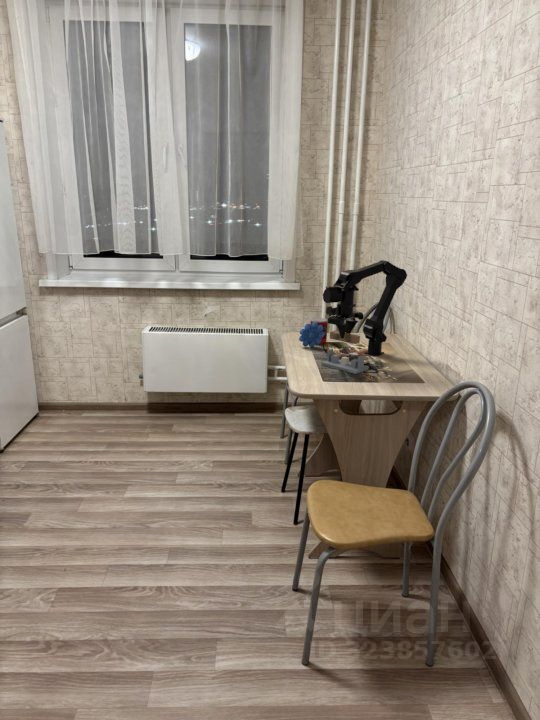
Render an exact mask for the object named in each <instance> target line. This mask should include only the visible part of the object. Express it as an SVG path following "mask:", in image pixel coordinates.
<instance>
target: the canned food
mask: <svg viewBox="0 0 540 720" xmlns="http://www.w3.org/2000/svg"><path fill="white" fill-rule="evenodd" d="M327 321H328V318H321V317H315V318H313V317H312V318H311V319H310V322H309V324H310V325H311V324H312V323H313V322H317V324H318V326H319V325H322V326H323V330H322V331H323V332H324V333H325V335H324V337H322V338H321V343H319V344H318V345H324V344H326V343H327V338H328V335H327V334H328V323H327ZM315 345H317V344H316V343H315Z"/></svg>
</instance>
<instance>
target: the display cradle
mask: <svg viewBox="0 0 540 720" xmlns="http://www.w3.org/2000/svg"><path fill="white" fill-rule="evenodd" d="M326 355H327V356H326V360H324V361H321V366H323V367H328V368H332V369H336V370H340V371H342V370H343V372H346V371H347V373H351V374H355V375H358V374H360V373H362V372H365V371H367V370H369V368H370V367H369V365H365V364H364V363H365V355H360V356H358V357H357V358H354V359H351V361H350V357H349V356H348V357H347V356H343V357H341V359H340V354H336V353H334V348H329V349H327V354H326ZM357 373H358V374H357Z"/></svg>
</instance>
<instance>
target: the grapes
mask: <svg viewBox="0 0 540 720" xmlns="http://www.w3.org/2000/svg"><path fill="white" fill-rule="evenodd" d="M322 330H323V326H322V325H319V326H318V324H317V322H313V323H312V324H311V325H310V323H306V324H305V325H304V328H302V329H300V331H299V335H300V336H299V337H298V340H299V342H302V346H303V347H310V348H313V347H315V346H316V345H320V344H319V343H321V338H322V337H324V335H325V333H324V332H323V331H322ZM315 343H316V344H315Z"/></svg>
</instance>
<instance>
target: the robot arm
mask: <svg viewBox="0 0 540 720" xmlns="http://www.w3.org/2000/svg"><path fill="white" fill-rule="evenodd" d="M379 273H383V274H384V275H385V287H384V289H383V292H382V294H381V296H380V299H379V301H378V303H377V305H376V308H375V311H374V312H373V315H372V316H371V317H370V318H368V317H367V318H365V320H364V321H365V322H364V324H363V325H362V332H363V334H364V336H365V339H367V340H368V343H367V351H364V354H365V355H371V356H374V357H376V356H377V357H378V356H380V355H384V354H385V351H383V350H382V348H383V343H386V341H387V338H388V337H387V335H386V334H385V333H384V332H383V331H384V329H385V327H384V319H385V317H386V315H387V313H388V311H389V308H390V306H391V303H392V301H393V299H394V296H395V295H396V292H397V290H398V289H399V288H400V287H402V286H403V285H404V283H405V282H406V280H407V277H408V273H407V271H406V270H405V268H400V267H398V266H396V265H394V264H393V263H391V262H389V260H384V259H383V260H382V259H381V260H379V261H378V262H374V263H372V264H369V265H365V266H364V267H360V268H358V269H347V270H346V269H345V270H343V271H341V272H340V273H339V276H338V277H337V280H336V281H335V282H334V284H333V285H332V286H330V285H327V286H325V289H324V291H323V293H322V299H323V302H324V303H325V304H330V303H331V304H333V303H337V304H336V306H335V307H333V306H331V305H330V306H327V307H326V308H325V313H326V315H327V316H328V318H327V324H331V325H334V326H336V327H337V329H338V330H337V331H339V333H340V337H341V338H342V339H343V338H344V335H345V333H349V334H352V332H353V330H354V328H355V326H356V325H357V323H359V321H360V320H363V319H364V314H363V312H362V311H357V310H354V307H356V304H355V303H354V302H355V292H359V291H360V289H359V288H358V287H357V285H358V284H359V283H360V282H361V281H362V280H364V279H367V278H369V277H371V276H374V275H376V274H379ZM356 319H358V320H359V321H358V320H356Z"/></svg>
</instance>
